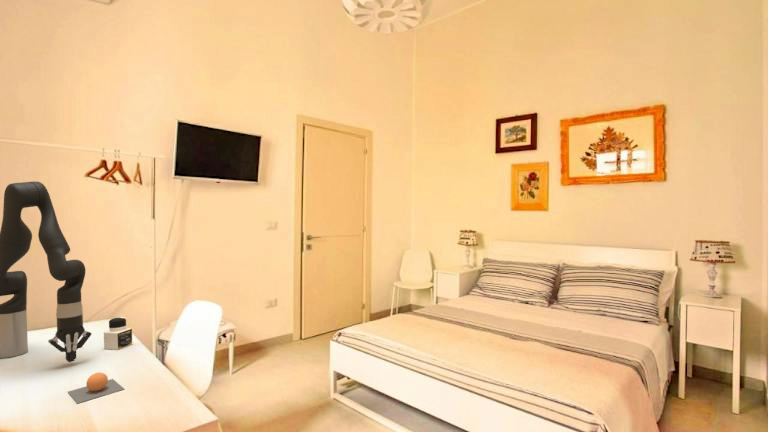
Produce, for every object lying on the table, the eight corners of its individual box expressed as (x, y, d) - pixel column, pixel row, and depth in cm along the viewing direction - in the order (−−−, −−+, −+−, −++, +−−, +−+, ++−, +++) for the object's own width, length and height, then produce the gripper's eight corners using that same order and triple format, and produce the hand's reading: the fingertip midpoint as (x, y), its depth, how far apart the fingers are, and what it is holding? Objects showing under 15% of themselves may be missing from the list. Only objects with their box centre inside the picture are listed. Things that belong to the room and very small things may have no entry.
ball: (81, 389, 123) (83, 374, 122) (100, 381, 128) (101, 366, 127) (92, 397, 121) (93, 382, 120) (111, 389, 126) (112, 374, 125)
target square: (67, 392, 123) (67, 391, 123) (112, 379, 132) (112, 378, 132) (77, 403, 116) (77, 403, 116) (124, 389, 125) (124, 388, 125)
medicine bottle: (118, 350, 161) (117, 320, 161) (103, 349, 163) (102, 320, 163) (132, 344, 168) (131, 316, 168) (118, 343, 170) (117, 315, 170)
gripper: (49, 320, 138) (51, 369, 138) (94, 312, 149) (96, 357, 149) (43, 317, 143) (45, 364, 143) (87, 309, 153) (89, 353, 153)
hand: (71, 361), depth 146 cm, fingers closed
